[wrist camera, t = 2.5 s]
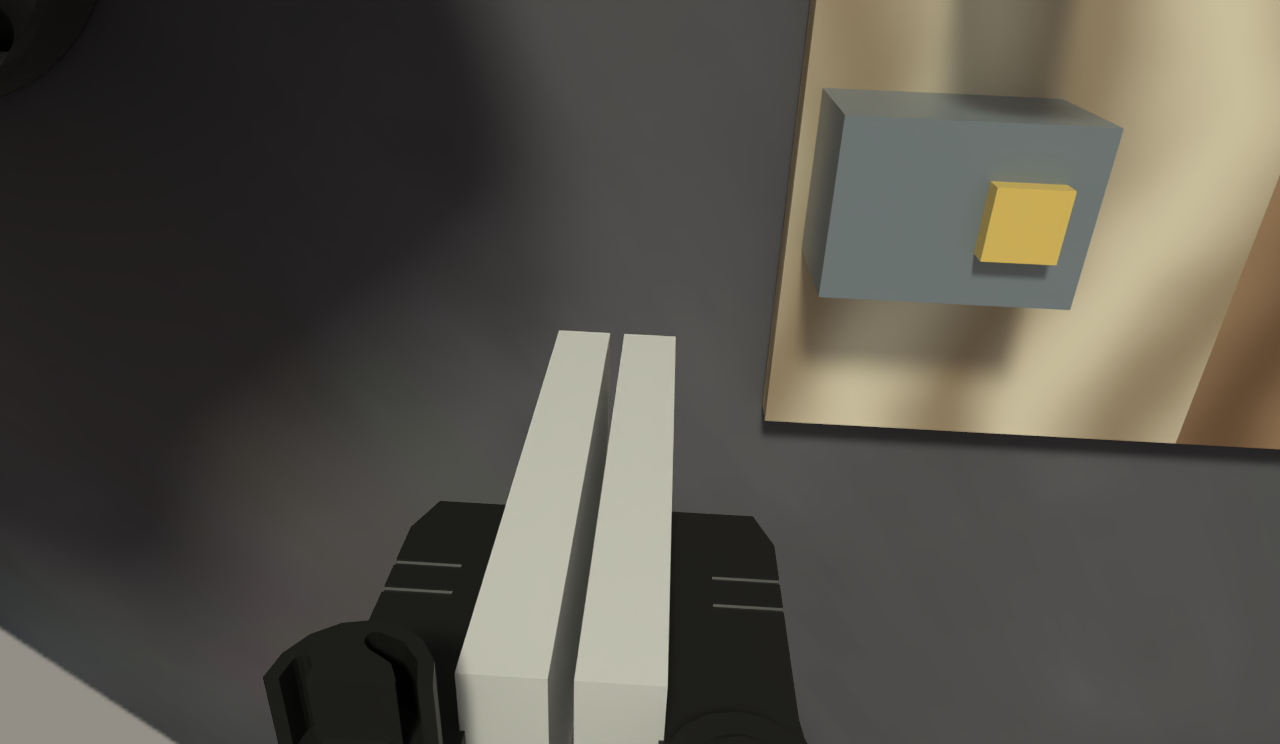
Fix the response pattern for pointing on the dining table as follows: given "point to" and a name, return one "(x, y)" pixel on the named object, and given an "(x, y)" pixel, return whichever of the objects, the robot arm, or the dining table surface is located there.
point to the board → (1119, 248)
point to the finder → (954, 197)
